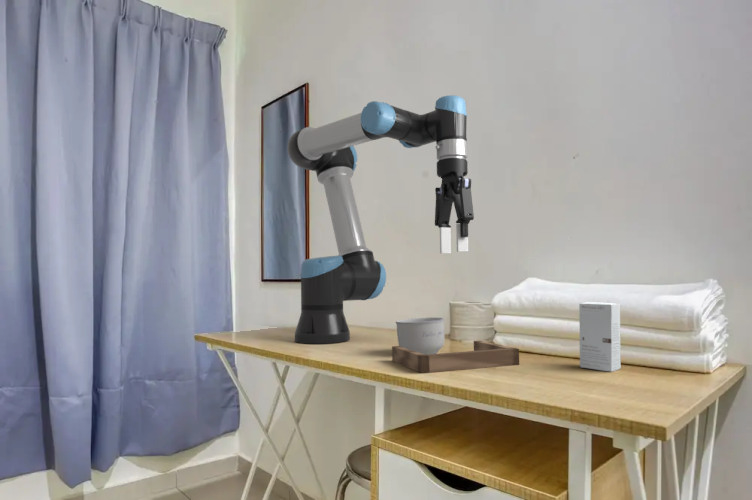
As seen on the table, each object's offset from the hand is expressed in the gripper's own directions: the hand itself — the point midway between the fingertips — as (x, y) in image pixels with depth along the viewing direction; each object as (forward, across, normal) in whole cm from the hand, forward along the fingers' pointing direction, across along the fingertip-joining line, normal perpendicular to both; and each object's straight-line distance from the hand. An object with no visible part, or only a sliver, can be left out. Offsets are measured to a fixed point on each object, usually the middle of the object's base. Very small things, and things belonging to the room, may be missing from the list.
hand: (453, 252), depth 119 cm
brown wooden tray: (+23, +18, -10) cm, 31 cm away
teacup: (+23, +4, -10) cm, 26 cm away
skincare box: (+23, +34, +11) cm, 43 cm away
